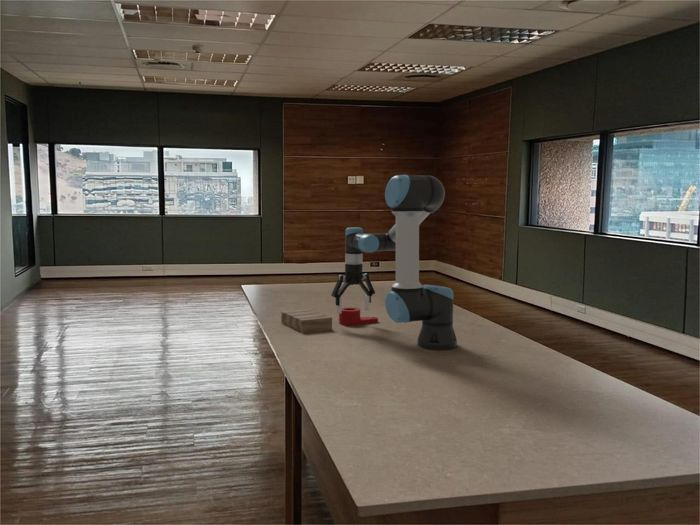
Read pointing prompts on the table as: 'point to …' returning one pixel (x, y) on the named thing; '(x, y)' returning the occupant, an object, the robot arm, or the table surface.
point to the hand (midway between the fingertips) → (353, 311)
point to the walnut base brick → (306, 320)
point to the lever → (354, 317)
